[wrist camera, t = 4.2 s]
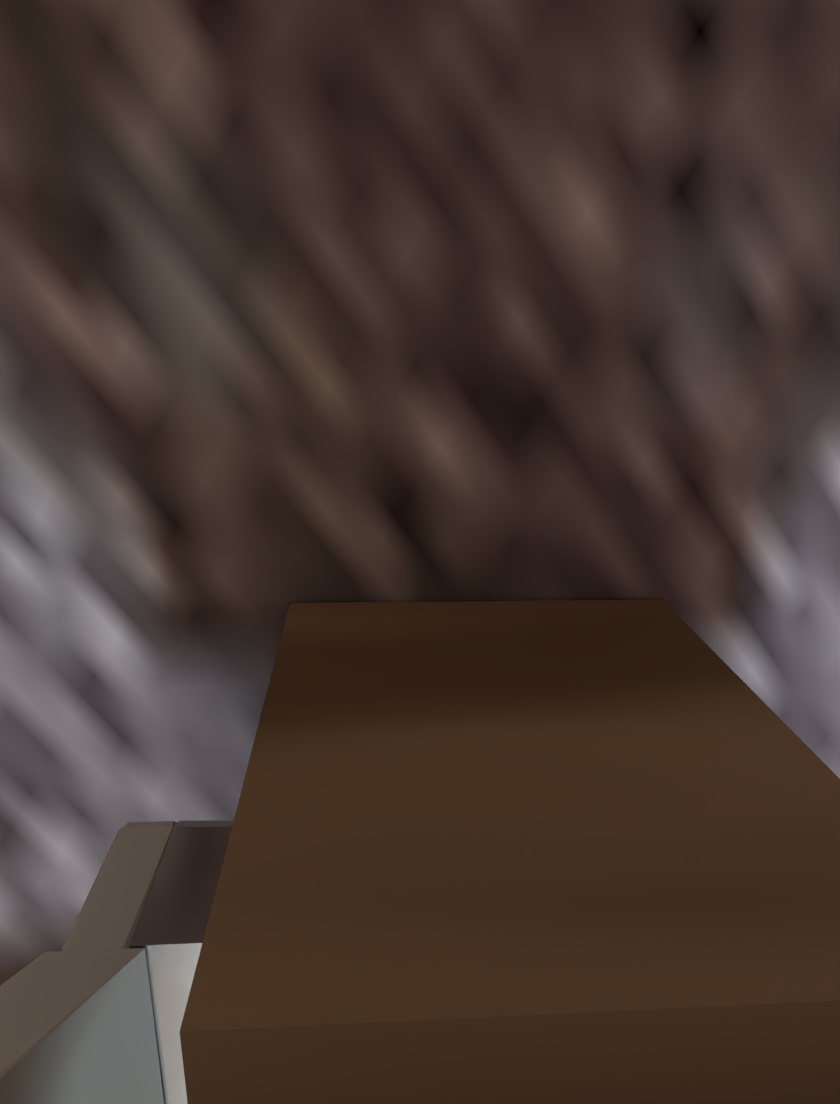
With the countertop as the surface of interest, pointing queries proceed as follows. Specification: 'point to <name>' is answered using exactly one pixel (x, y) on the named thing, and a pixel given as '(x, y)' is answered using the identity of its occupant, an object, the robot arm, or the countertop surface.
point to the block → (519, 871)
